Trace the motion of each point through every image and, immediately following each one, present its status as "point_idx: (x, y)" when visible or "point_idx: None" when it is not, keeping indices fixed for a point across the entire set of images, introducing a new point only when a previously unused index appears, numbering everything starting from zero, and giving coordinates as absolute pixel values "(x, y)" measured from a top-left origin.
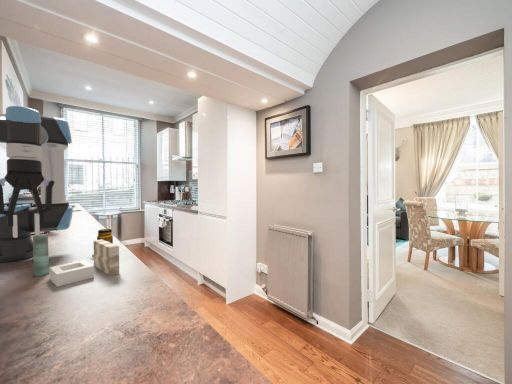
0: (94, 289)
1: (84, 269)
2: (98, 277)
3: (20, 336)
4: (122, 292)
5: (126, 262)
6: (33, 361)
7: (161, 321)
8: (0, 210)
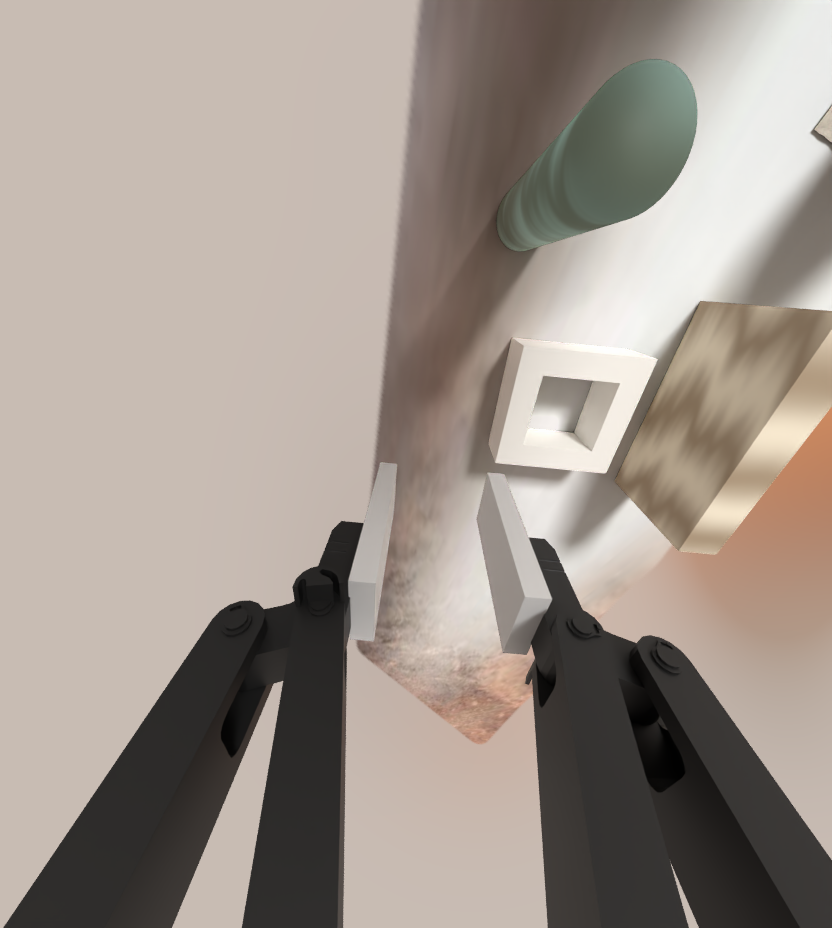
0: None
1: (573, 468)
2: None
3: None
4: None
5: None
6: (378, 645)
7: (501, 678)
8: (240, 694)
